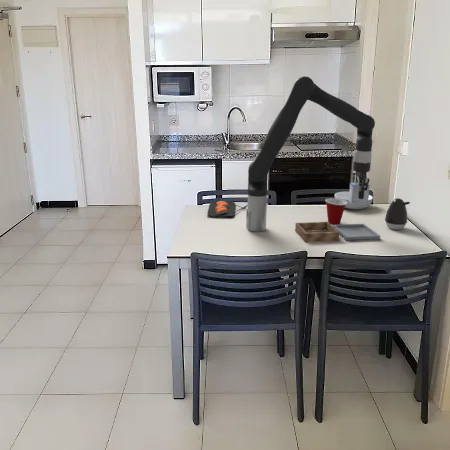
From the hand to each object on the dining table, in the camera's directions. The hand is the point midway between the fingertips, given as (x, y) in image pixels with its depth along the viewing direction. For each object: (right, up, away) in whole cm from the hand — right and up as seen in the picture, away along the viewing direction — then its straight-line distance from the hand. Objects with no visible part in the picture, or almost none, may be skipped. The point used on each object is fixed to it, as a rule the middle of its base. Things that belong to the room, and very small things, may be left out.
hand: (358, 197), depth 213 cm
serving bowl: (+11, -3, +50) cm, 52 cm away
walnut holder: (-19, -18, +3) cm, 26 cm away
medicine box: (0, -2, +1) cm, 3 cm away
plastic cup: (-6, -12, +21) cm, 25 cm away
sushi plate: (-56, -6, +42) cm, 70 cm away
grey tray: (0, -17, +5) cm, 18 cm away
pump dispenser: (+22, -15, +14) cm, 30 cm away
